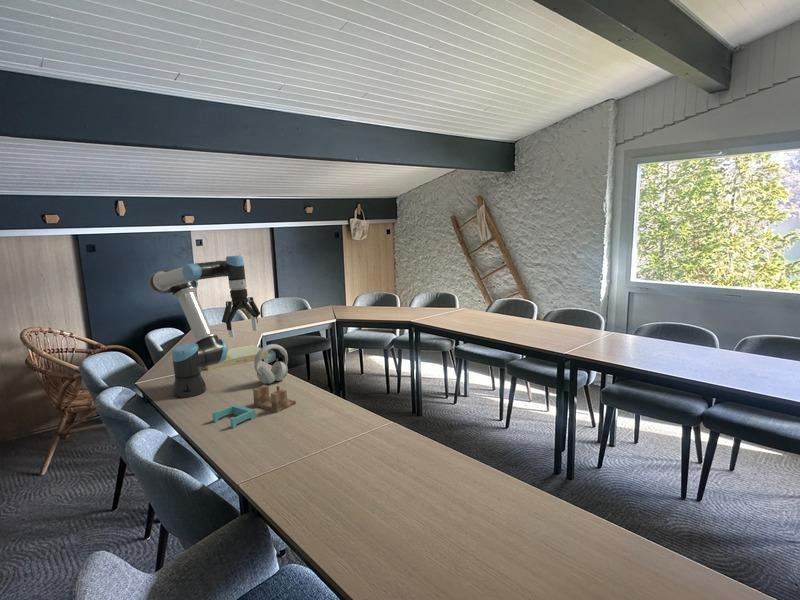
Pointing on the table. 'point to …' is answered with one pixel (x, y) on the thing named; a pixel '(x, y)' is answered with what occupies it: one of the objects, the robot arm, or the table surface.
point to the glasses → (236, 410)
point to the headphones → (277, 369)
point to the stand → (271, 399)
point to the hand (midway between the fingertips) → (243, 333)
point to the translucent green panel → (238, 356)
